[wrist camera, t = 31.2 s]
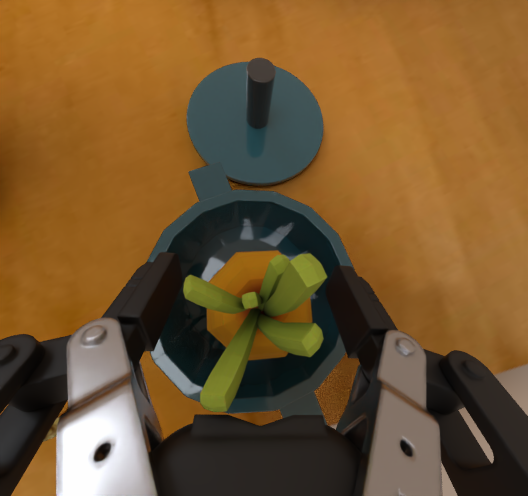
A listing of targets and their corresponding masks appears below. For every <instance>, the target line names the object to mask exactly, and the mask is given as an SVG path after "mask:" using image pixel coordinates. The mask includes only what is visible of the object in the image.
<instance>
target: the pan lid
mask: <svg viewBox="0 0 528 496" xmlns="http://www.w3.org/2000/svg"><path fill="white" fill-rule="evenodd" d="M187 127H188V132H189V135H190V138H191V141H192V143H193V145H194V147H195V149H196V151H197V153H198V154H199V156H200V157H201V158H202V159H203V160H204V162H205V163H206V164H207V165H211V164H214V163H218V162H221V165H222V167H223V170H224V172H225V175H226V177H227V178H228V179H230V180H233V181H235V182H238V183H242V184H246V185H255V186H266V185H273V184H278V183H281V182H284V181H287V180H289V179H291V178H293V177H295V176H296V175H298V174H299V173H301V172H302V171H303V170H304V169H305V168H306V167H307V166H308V165H309V164H310V163H311V162H312V160H313V159H314V157H315V156H316V154H317V152H318V150H319V148H320V145H321V141H322V137H323V118H322V114H321V110H320V107H319V105H318V102H317V101H316V99H315V97H314V95H313V94H312V93H311V91H310V90H309V89H308V88H307V86H306V85H305V84H304V83H303V82H301V81H300V80H299V79H298V78H297V77H295V76H294V75H292V74H291V73H289V72H287V71H285V70H283V69H281V68H279V67H276V66H274V65H273V64H272V63H271V62H270V61H269V60H267V59H264V58H255V59H253V60H251V61H250V62H240V63H234V64H230V65H227V66H224V67H222V68H219V69H217V70H215V71H214V72H212V73H210V74H209V75H208V76H207V77H205V78H204V79H203V80H202V81H201V82H200V83H199V84H198V86H197V87H196V89H195V90H194V92H193V94H192V96H191V98H190V101H189V104H188V109H187Z"/></svg>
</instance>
